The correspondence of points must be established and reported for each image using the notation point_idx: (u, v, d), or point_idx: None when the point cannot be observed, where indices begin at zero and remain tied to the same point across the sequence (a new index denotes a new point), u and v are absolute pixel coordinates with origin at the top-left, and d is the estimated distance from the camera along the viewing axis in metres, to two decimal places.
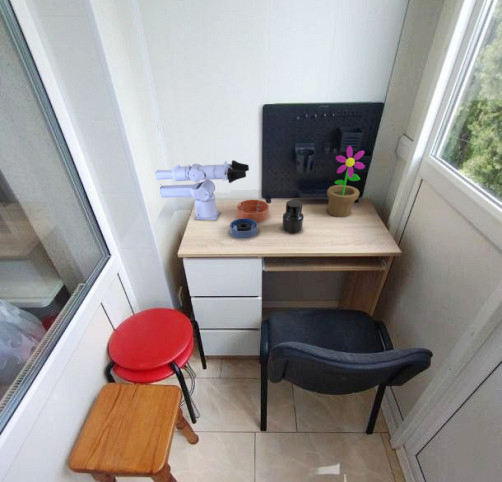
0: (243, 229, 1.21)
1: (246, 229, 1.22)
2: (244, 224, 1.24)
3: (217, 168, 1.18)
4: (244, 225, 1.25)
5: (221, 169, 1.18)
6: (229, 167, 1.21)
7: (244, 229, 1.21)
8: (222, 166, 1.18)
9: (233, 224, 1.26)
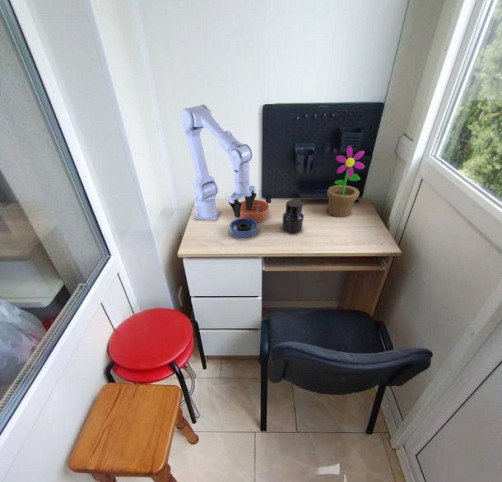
0: (243, 229, 1.21)
1: (246, 229, 1.22)
2: (244, 224, 1.24)
3: (243, 186, 1.08)
4: (244, 225, 1.25)
5: (242, 191, 1.09)
6: None
7: (244, 229, 1.21)
8: (245, 192, 1.10)
9: (233, 224, 1.26)
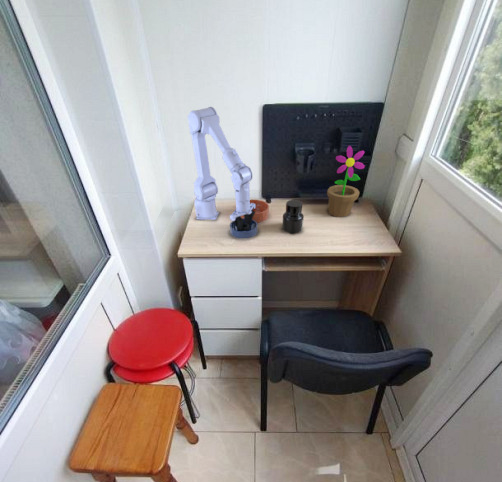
0: (243, 229, 1.21)
1: (246, 229, 1.22)
2: (244, 224, 1.24)
3: (243, 205, 1.13)
4: (244, 225, 1.25)
5: (242, 209, 1.15)
6: None
7: (244, 229, 1.21)
8: (246, 210, 1.15)
9: (233, 224, 1.26)
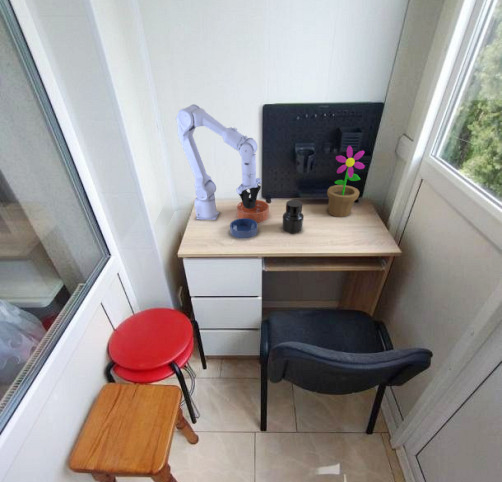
0: (249, 203, 1.23)
1: (252, 204, 1.24)
2: (250, 199, 1.26)
3: (250, 178, 1.15)
4: (250, 200, 1.27)
5: (248, 183, 1.17)
6: None
7: (250, 203, 1.23)
8: (252, 183, 1.17)
9: (233, 224, 1.26)
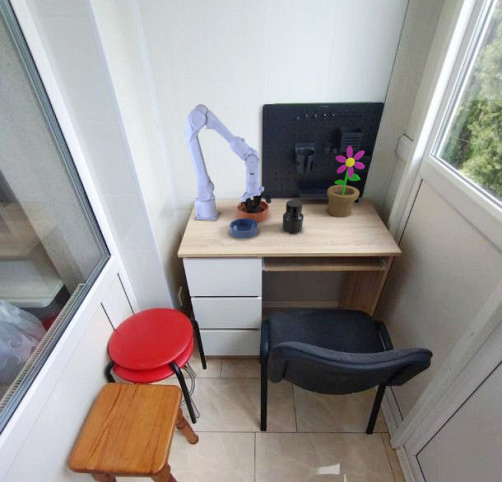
0: (252, 210, 1.31)
1: (255, 210, 1.31)
2: (253, 206, 1.34)
3: (253, 187, 1.23)
4: (253, 207, 1.34)
5: (252, 191, 1.24)
6: None
7: (253, 210, 1.31)
8: (255, 191, 1.25)
9: (233, 224, 1.26)
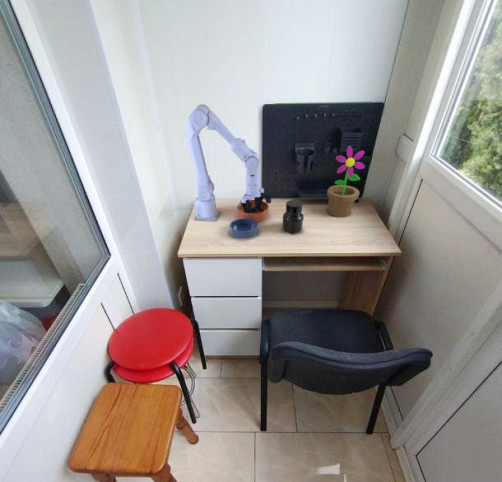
0: (252, 213, 1.32)
1: None
2: (253, 209, 1.35)
3: (253, 188, 1.23)
4: (253, 210, 1.35)
5: (252, 193, 1.25)
6: None
7: (253, 213, 1.32)
8: (255, 193, 1.25)
9: (233, 224, 1.26)
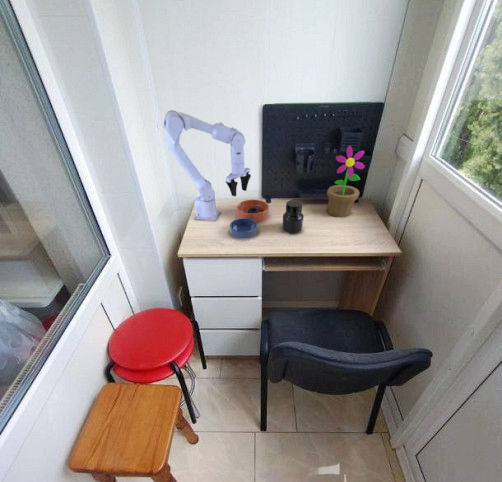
0: (252, 213, 1.32)
1: None
2: (253, 209, 1.35)
3: (238, 167, 1.22)
4: (253, 210, 1.35)
5: (237, 172, 1.23)
6: None
7: (253, 213, 1.32)
8: (240, 172, 1.24)
9: (233, 224, 1.26)
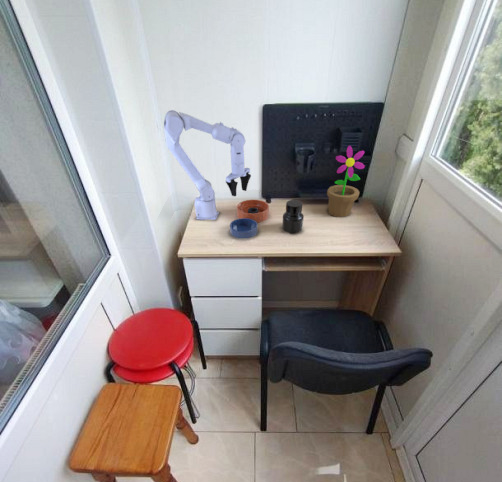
0: (252, 213, 1.32)
1: None
2: (253, 209, 1.35)
3: (238, 167, 1.22)
4: (253, 210, 1.35)
5: (237, 172, 1.23)
6: None
7: (253, 213, 1.32)
8: (240, 172, 1.24)
9: (233, 224, 1.26)
